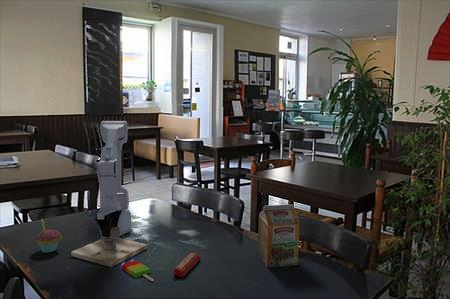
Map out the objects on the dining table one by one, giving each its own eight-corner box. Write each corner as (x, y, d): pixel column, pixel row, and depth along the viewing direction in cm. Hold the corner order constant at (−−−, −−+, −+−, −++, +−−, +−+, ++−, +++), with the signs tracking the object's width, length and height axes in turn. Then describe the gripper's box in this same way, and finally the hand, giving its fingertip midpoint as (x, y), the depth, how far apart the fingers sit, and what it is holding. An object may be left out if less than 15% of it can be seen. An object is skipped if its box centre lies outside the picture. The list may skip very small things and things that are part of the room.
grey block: (96, 237, 145) (96, 223, 144) (112, 233, 149) (112, 220, 148) (107, 244, 139) (106, 229, 138) (123, 240, 143) (122, 225, 142)
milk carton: (266, 267, 134) (268, 210, 131) (257, 254, 144) (259, 201, 141) (297, 265, 136) (300, 208, 133) (286, 252, 146) (288, 200, 143)
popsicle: (136, 264, 136) (136, 259, 136) (161, 281, 125) (161, 275, 124) (120, 269, 132) (120, 263, 132) (145, 286, 121) (145, 280, 121)
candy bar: (182, 280, 125) (182, 270, 124) (171, 278, 126) (171, 268, 126) (201, 259, 140) (201, 251, 140) (191, 258, 141) (191, 249, 141)
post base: (109, 239, 157) (109, 227, 156) (147, 248, 148) (147, 236, 148) (71, 255, 141) (70, 243, 140) (111, 267, 133) (110, 253, 132)
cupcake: (34, 255, 141) (32, 221, 139) (38, 246, 149) (36, 214, 147) (61, 253, 143) (59, 219, 141) (63, 244, 151) (62, 212, 150)
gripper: (111, 201, 134) (112, 241, 136) (127, 190, 148) (128, 227, 150) (90, 200, 135) (92, 240, 137) (108, 189, 149) (109, 226, 151)
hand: (109, 233), depth 143 cm, fingers closed on grey block, 6 cm apart
